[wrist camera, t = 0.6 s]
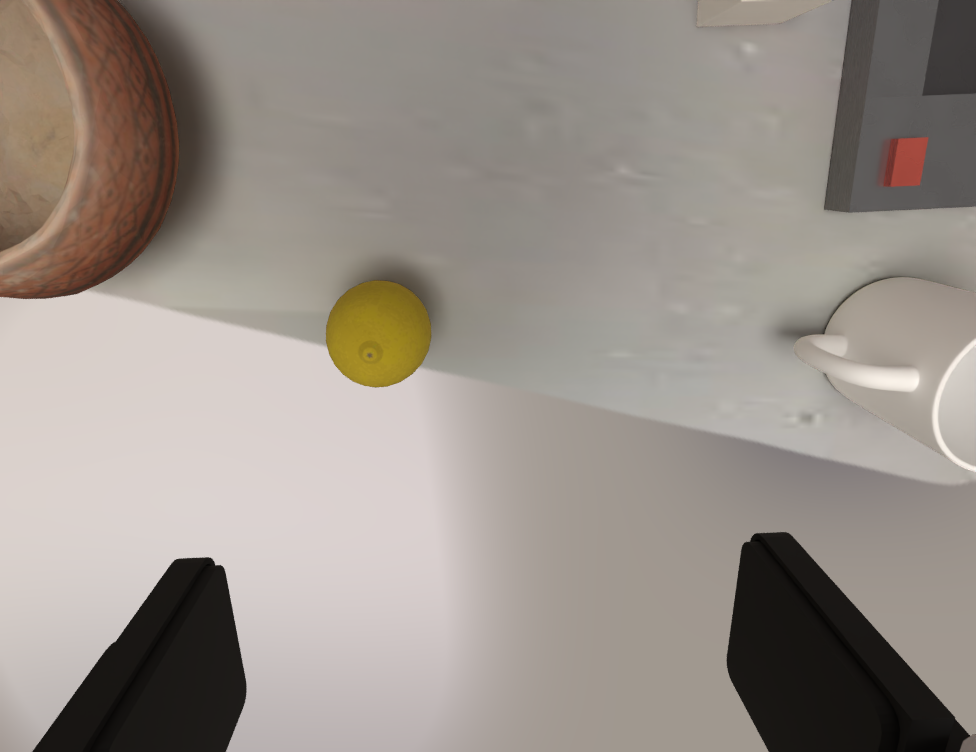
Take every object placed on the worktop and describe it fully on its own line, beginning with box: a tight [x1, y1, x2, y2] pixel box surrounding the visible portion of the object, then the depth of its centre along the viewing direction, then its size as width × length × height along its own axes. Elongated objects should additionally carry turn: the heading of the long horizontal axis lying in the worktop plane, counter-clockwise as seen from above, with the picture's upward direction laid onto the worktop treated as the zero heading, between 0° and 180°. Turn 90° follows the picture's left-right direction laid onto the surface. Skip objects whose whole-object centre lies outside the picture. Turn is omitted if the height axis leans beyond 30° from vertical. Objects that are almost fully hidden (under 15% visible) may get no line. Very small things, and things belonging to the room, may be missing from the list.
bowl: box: [0, 0, 179, 299], centre depth 28 cm, size 16×16×10 cm
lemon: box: [326, 280, 431, 387], centre depth 33 cm, size 6×6×8 cm
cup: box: [794, 277, 976, 472], centre depth 34 cm, size 8×12×10 cm
